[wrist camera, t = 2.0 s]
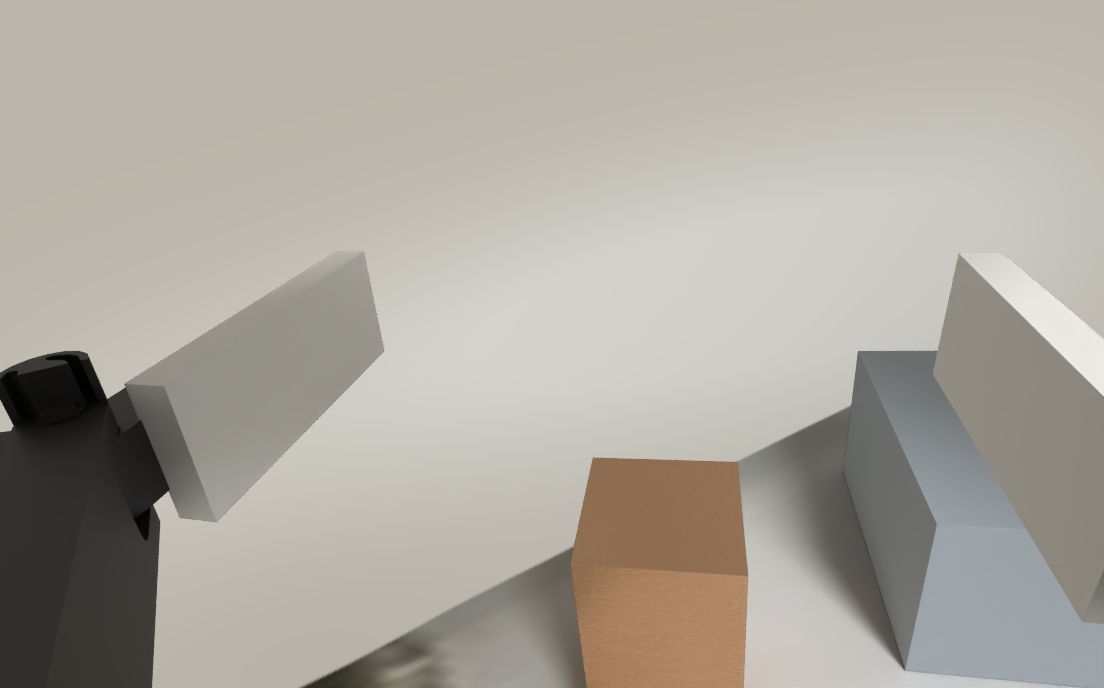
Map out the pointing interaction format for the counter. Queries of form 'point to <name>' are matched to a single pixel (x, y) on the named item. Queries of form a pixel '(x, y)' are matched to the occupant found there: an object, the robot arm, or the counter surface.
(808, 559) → the counter surface
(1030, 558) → the stand
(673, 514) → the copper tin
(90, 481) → the robot arm
